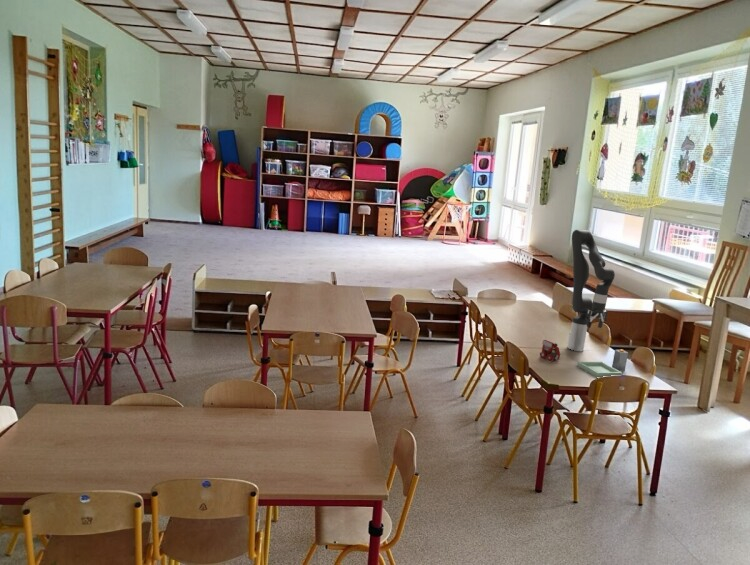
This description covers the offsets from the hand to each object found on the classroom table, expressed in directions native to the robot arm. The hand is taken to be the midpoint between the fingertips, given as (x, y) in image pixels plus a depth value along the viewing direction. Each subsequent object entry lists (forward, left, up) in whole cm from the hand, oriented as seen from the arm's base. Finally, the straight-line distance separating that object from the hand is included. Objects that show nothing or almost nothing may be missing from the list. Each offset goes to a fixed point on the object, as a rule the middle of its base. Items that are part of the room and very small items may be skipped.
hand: (594, 327), depth 362 cm
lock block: (+21, +5, -19) cm, 29 cm away
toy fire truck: (+3, -29, -19) cm, 35 cm away
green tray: (+25, -11, -19) cm, 33 cm away
